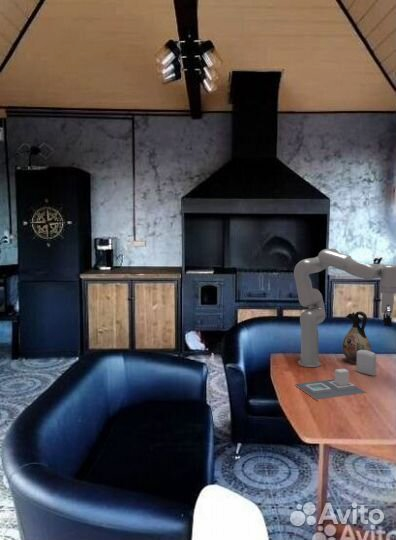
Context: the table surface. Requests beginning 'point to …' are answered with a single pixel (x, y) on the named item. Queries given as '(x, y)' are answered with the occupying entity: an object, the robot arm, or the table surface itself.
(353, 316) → the ceramic jug
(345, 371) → the plug
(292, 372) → the table surface
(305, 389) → the dock board
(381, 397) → the table surface
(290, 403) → the table surface
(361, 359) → the photo printer
